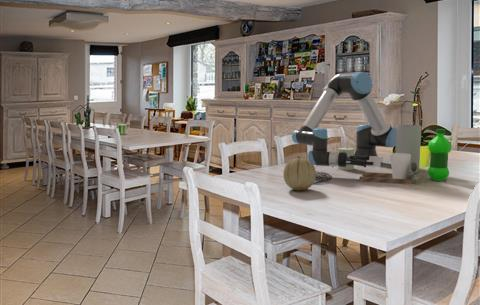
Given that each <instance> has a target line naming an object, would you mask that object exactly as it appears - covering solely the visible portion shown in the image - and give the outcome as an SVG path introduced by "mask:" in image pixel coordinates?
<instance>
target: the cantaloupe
mask: <svg viewBox="0 0 480 305" xmlns="http://www.w3.org/2000/svg"><path fill="white" fill-rule="evenodd" d="M316 178H317V171H316V168H315V165H313V164H312V163H311V162H310V161H309V160H308V159H305V158H302V157H300V156H297V157H296V158H292V159H290V160H289V161H288V162H287V163H286V164H285V167H284V170H283V179H284V182H285V184H286V185H287V186H288V187H289V188H290V189H292V190H293V191H294V190H295V191H298V192H299V191H300V192H302V191H305V190H308V189H309V188H311V187H312V186H313V185H314V183H315V181H316Z"/></svg>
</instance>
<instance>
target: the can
mask: <svg viewBox="0 0 480 305" xmlns="http://www.w3.org/2000/svg"><path fill="white" fill-rule="evenodd" d="M337 152H338V153H340V152H346V153H347V157H350V156H354V154H355V148H353V147H338V148H337ZM354 166H355V165H350V164H348V165H346V167H339V166H336V167H337V168H336V169H337V170H340V171H353V170H354V169H355V167H354Z"/></svg>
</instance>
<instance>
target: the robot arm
mask: <svg viewBox="0 0 480 305" xmlns="http://www.w3.org/2000/svg"><path fill="white" fill-rule="evenodd" d="M372 88H373V80H372V78H371V76H370V74H368V73H367V72H365V71H364V72H363V71H351V72H340V73H337V74H336V75H334V76H332V78H330V80H329V81H328V82H326V85H325V86H324V87H323V89H322V93H321V95H320V97H319V98H318V100H317V101H316V103H315V104H314V106H313V108H312V109H311V111H310V113H309V114H308V115H307V117H306V119H305V120H304V122H303V123H302V125H301V127H300V129H296V130H294V131H293V132H292V134H291V139H292V140H291V141H292V142H293V143H295V144H298V145H305V146H311V147H312V149H311V150H310V151H308V154H307V160H309V161H310V162H311V163H312V164H313V166H317V167H318V166H319V167H320V166H321V167H331V168H334V167H338V166H339V167H346V165H348V164H350V165H354V166H357V167H363V168H367V167H381V163H383V162H384V161H383V160H384V159H383V158H384V156H378V153H377V149H376V148H377V147H382V148H394V147H396V127H393V126H392V124H391V123H390V122H389V121H387V120H386V119H385V118H384V115H383V114H382V113H381V110H380V109H379V107H378V106H379V105H377V103H376V101H375V99H374V98H373V95H372ZM343 94H347V95H348V94H349V97H351V98H350V99H351V100H353V101H356V103H357V105H358V107H359V108H360V110H361V112H362V114H363V116H364V117H365V119H366V120H367V122H368V124H359V125H357V127H356V132H355V133H356V136H355V138H356V142H355V143H356V144H355V150H354V156H350V157H347V153H346V152H340V153H338V151H328V138H329V136H328V129H327V128H325V127H323V128H322V127H320V128H319V125H320V124H321V122H322V120H324V117H325V116H326V114H327V113H328V111H329V110H330V108H331V106H332V105H333V103H334V101H335V100H337V99H339V98H340V96H341V95H343Z"/></svg>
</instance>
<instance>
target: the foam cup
mask: <svg viewBox="0 0 480 305" xmlns="http://www.w3.org/2000/svg"><path fill="white" fill-rule="evenodd" d="M410 160H411V155H410V154H405V153H395V152H393V153H390V162H391V165H390V166H391V173H392V176H393V179H407V175H408V169H409V164H410Z"/></svg>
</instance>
